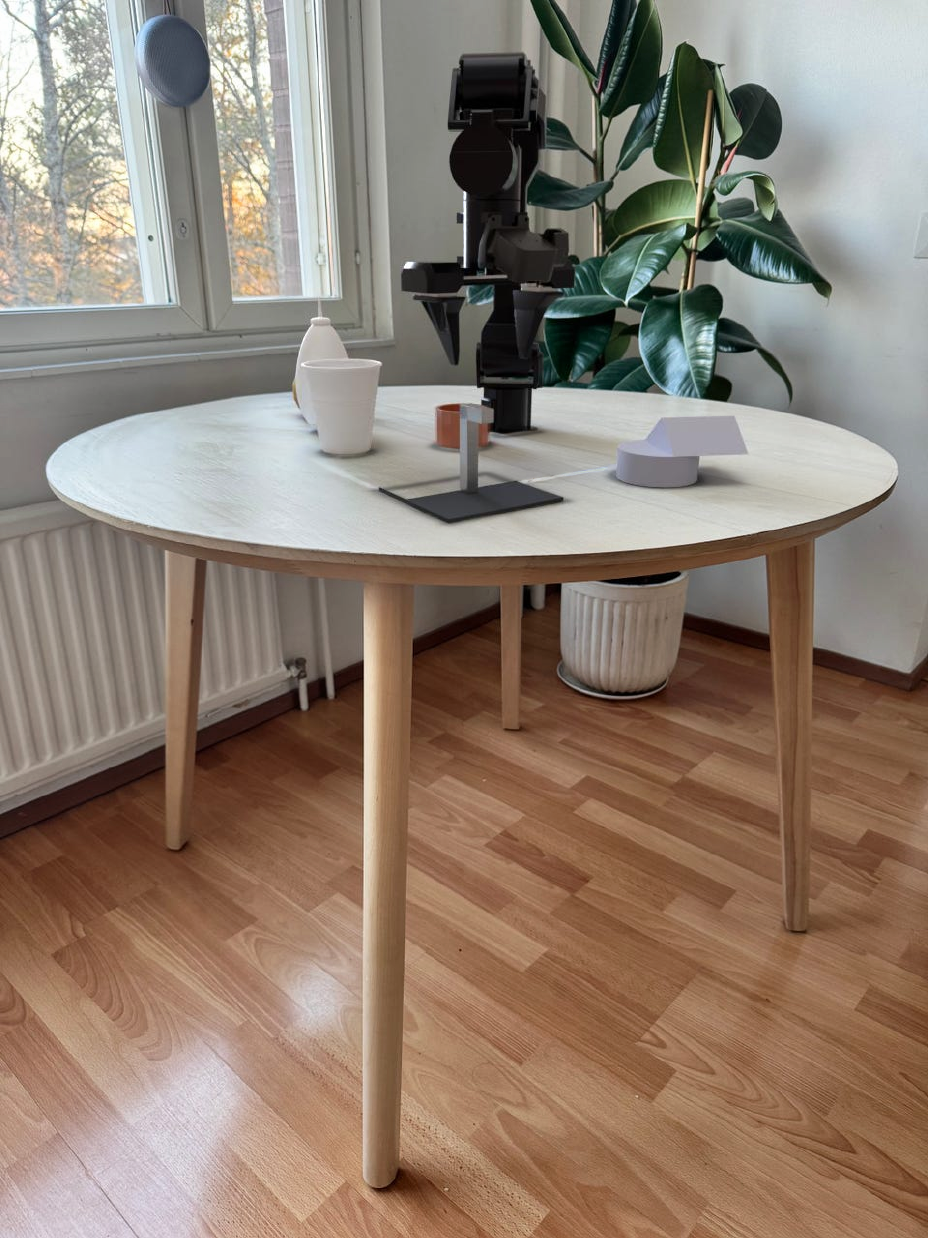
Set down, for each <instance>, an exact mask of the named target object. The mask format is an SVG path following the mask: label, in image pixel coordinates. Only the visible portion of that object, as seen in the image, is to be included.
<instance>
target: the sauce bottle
mask: <svg viewBox="0 0 928 1238" xmlns="http://www.w3.org/2000/svg"><path fill="white" fill-rule="evenodd" d="M317 314H318V316H317V317H313V318H311V319H310V324H311V325H310V327H308V329H307V330H306V332H305V335H304V337H303V339H302V341H301V344H300V348H299V351H298V356H297V360H296V366H295V376H296V377H295V376H294V379H295V382H296V394H297V399H298V403H299V407H300V409H301V410H300V409H299V410H300V412H301V413H302V416H303V418H304V419H305V421H306V422H307V424H308V425H310V426H313V427H314V430H315V431H317V432H318V429H317V424H316V420H315V416H314V412H313V408H312V404H311V400H310V396H309V392H308V387H307V383H306V379H305V374H304V370H303V368H302V367H301V364H302V363H304V362H307V361H313V360H323V359H350V358H349V355H348V352H347V350H346V348H345V345H344V343H343V341H342V339H341V337H340V336H339V334H338V332H337V331H336V330H335V328H334V327H333V326H332V325H331V323H332V322H331V318H329V317H323V310H322V302H321V298H320V297H318V299H317Z"/></svg>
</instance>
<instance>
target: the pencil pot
mask: <svg viewBox="0 0 928 1238" xmlns="http://www.w3.org/2000/svg"><path fill="white" fill-rule="evenodd" d="M460 404H468V403H466V402H463V403H462V402H460V403H459V402H457V403H444V404H439V405H437V406H435V407H434V439H435V440H434V443H435V445H436V446H438V447H442V448H446V449H447V448H448V449H460ZM475 404H476V405H480V406H484V407H488V406H485V405H481V403H480V404H479V403H475ZM488 408H489V407H488ZM489 444H490V431H489V423H488V424H480V423H478V448H482V447H486V446H488V445H489Z"/></svg>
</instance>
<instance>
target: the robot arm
mask: <svg viewBox="0 0 928 1238" xmlns="http://www.w3.org/2000/svg"><path fill="white" fill-rule="evenodd" d="M449 92H450V93H449V104H448V105H449V106H448V115H447V131H448V132H450V133H459V134H458V135H457V136H456V137H455V139H454V142H453V143H452V146H451V149H450V153H449V159H448V165H449V170H450V174H451V176H452V179H453V180H454V182H455V184H456V185H457V187H459V188H460V189H461V190H462V191H463V212H456V224H458V225H459V224H460V225H462V224H463V255H456V261H438V260H437V261H434V260H433V261H406V263H405V265H404V266H403V268H402V270H401V273H400V286H401V288H400V289H401V292H406V293H414V294H412V300H413V301H418V302H420V303H421V305H422V308H423V309H424V310H425V312H426V314H427V316H428V318H429V321H430V322H431V323H432V325H433V327H434V330H435V332H436V334H437V336H438V339H439V341H440V344H441V347H442V348H443V350H444V353H445V355H446V357H447V360H448V362H449V364H450V365H451V366H455V367H456V366H459V364H460V356H461V355H460V353H461V344H460V343H461V341H460V340H461V339H460V338H461V337H460V336H461V334H460V332H461V331H460V313H461V310H462V308H463V306H464V303H465V301H466V297H467V296H462V295H458V293H459V291H460V290H461V288H462V287H470V286H471V287H474V286H492V287H493V289H492V290H493V291H492V311H491V313H490V314H489V316H488V318H487V320H486V322H485V324H484V325H483V327H482V329H481V331H480V341H477V342H476V348H475V367H476V368H475V370H476V371H475V373H476V374H475V375H476V389H483V397H481V400H480V405H485V406H488V407H489V408H492V409H494V414H493V423H489V432H493V433H496V434H501V435H506V434H514V433H521V432H529V431H535V430H536V431H537V430H538V427H536V426H532V402H533V400H532V398H533V390H537V389H542V388H543V384H544V353H543V352H542V351H541V348H540V347H539V342H535V340H536V337H537V335H538V332H539V329H540V327H541V325H542V321H543V319H544V317H545V315H546V312H547V311H548V309H549V307H551V305H553V303H555V301H557V299H559V298H564V297H565V294H566V291H562V290H561V291H559V289H575V287H576V269H575V266H574V265H573V263H572V261H571V260H570V259H568V257H569V253H570V237H569V232H568V231H566V230H564V229H563V228H560V227H559V228H558V227H557V228H555V227H554V228H552V227H551V228H549V227H548V228H545V230H544V232H543V233H542V232H537V233H535V232H533V231H532V230H530V218H529V216H528V215H529V214H528V213H529V212H528V211H527V208H528V188H529V186H530V184H531V183H532V181H533V179H534V178H535V175H536V173H537V172H538V170H539V168H540V166H541V153H542V152H541V150H546V148H547V133H548V132H547V129H548V128H547V126H548V125H547V122H548V119H547V111H548V110H547V109H548V108H547V96H546V94H545V92H543V90H542V89H541V87H540V80H539V78H538V77H537V76H536V69H535V68H534V66H533V65H532V60H531V59H528V57H527V54H526V53H525V52H524V51H513V52H512V51H510V52H509V51H507V52H476V53H471V52H470V53H462V54H461V55H460V57H459V58H458V67H453V68H452V72H451V82H450V91H449ZM478 272H484V273H478ZM415 293H416V294H415ZM529 378H532V379H529Z"/></svg>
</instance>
